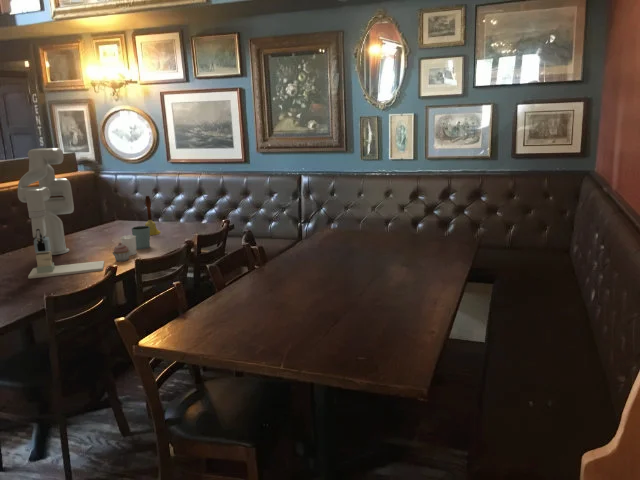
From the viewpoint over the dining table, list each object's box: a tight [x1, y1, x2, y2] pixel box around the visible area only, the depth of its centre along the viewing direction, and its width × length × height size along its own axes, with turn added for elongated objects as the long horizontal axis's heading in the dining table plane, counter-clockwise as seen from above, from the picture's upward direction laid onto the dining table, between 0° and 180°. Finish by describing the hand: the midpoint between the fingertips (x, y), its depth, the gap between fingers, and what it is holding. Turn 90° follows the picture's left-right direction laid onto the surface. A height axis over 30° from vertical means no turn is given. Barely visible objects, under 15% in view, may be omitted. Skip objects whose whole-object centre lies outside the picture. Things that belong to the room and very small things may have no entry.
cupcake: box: [111, 242, 130, 263], centre depth 289 cm, size 9×9×10 cm
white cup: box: [120, 234, 137, 257], centre depth 301 cm, size 8×8×10 cm
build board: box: [27, 260, 105, 279], centre depth 273 cm, size 15×34×4 cm, turn 109°
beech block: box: [35, 251, 53, 267], centre depth 269 cm, size 6×6×6 cm
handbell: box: [144, 195, 162, 237], centre depth 350 cm, size 12×12×25 cm
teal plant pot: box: [131, 225, 151, 250], centre depth 316 cm, size 10×10×12 cm
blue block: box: [33, 237, 51, 254], centre depth 267 cm, size 6×6×6 cm
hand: (42, 249), depth 267 cm, fingers closed on blue block, 6 cm apart
